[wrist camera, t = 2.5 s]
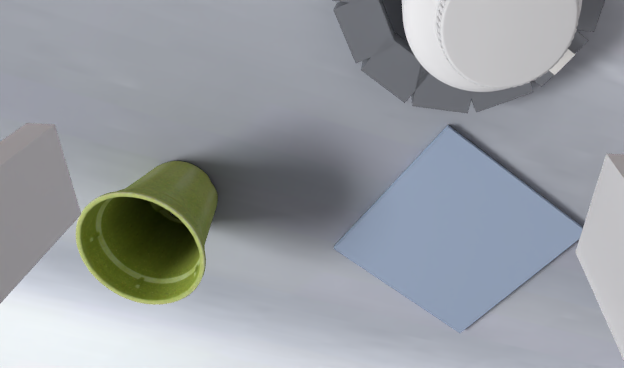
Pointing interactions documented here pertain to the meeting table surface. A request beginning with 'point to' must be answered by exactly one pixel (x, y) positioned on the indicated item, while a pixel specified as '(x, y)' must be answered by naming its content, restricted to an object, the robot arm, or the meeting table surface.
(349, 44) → the holder ring
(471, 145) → the rubber mat
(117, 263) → the plant pot
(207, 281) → the meeting table surface
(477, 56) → the pill bottle
